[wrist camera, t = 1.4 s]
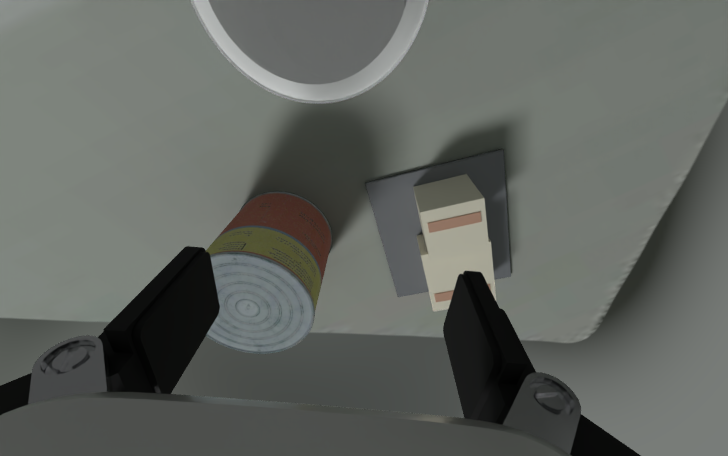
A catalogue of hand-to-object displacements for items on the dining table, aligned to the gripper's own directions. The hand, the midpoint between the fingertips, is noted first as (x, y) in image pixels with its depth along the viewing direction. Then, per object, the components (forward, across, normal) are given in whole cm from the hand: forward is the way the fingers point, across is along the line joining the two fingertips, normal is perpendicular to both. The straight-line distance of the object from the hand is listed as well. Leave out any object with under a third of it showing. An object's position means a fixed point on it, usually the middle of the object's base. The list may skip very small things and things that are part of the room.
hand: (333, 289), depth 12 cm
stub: (+22, -10, +5) cm, 24 cm away
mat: (+22, -10, +9) cm, 26 cm away
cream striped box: (+22, -12, +12) cm, 28 cm away
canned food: (+22, +8, +12) cm, 26 cm away
